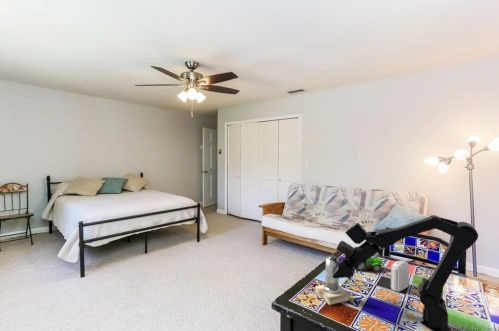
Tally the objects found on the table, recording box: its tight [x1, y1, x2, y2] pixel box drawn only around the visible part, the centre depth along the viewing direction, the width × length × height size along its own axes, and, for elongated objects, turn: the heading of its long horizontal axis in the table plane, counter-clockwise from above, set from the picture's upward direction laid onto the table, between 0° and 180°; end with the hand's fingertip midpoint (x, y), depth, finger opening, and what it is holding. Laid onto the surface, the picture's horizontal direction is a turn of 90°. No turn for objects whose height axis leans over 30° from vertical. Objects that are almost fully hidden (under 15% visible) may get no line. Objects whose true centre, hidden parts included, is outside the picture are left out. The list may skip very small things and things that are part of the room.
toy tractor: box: [353, 253, 384, 273], centre depth 137 cm, size 11×16×10 cm
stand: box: [314, 283, 350, 306], centre depth 109 cm, size 10×10×3 cm
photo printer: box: [390, 260, 410, 292], centre depth 116 cm, size 10×4×12 cm, turn 123°
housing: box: [323, 254, 342, 294], centre depth 109 cm, size 7×7×14 cm
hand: (336, 272), depth 108 cm, fingers open, 9 cm apart
